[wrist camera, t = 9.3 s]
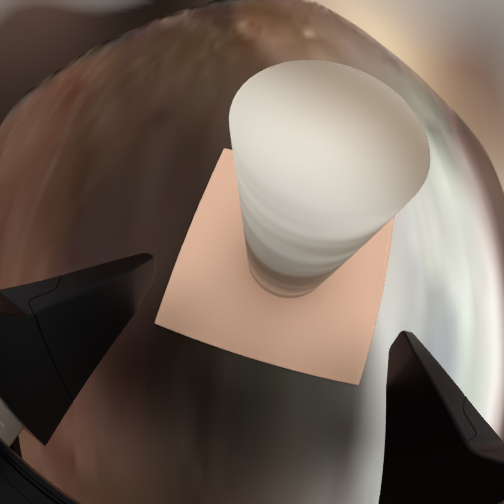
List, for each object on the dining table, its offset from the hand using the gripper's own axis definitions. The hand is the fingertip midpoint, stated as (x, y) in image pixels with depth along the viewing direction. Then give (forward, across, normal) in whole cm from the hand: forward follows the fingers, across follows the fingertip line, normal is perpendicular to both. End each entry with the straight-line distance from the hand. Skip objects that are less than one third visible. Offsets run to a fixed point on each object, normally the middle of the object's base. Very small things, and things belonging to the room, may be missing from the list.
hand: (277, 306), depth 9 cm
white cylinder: (+8, 0, +2) cm, 8 cm away
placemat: (+8, 0, +3) cm, 9 cm away
